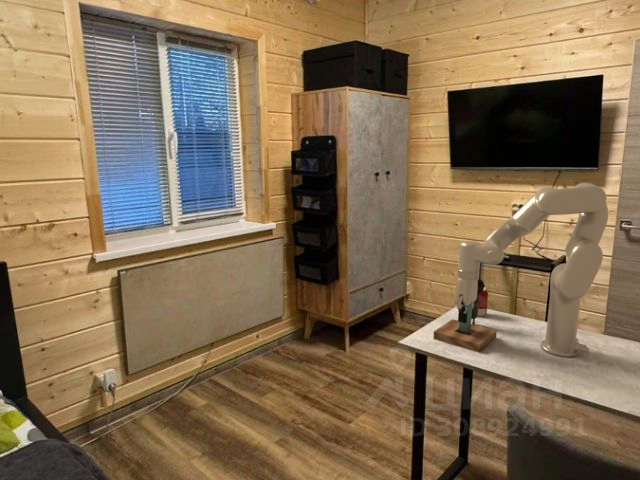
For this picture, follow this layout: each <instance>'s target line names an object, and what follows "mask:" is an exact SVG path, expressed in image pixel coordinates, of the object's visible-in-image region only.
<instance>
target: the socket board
mask: <svg viewBox="0 0 640 480" xmlns="http://www.w3.org/2000/svg"><path fill="white" fill-rule="evenodd" d="M458 328H459V321H458V319H454V318H453V319H450V320H449V321H447V322H446V323H444V324H442V325H441V326H440V327H438V328H437V329H435V330H433V340H436V341H440V342H443V343H446V344H450V345H454V346H457V347H460V348H463V349H466V350H470V351H473V352H477V353H480V352H482V350H484V349H485V348H486V347H487V346H489V345H490V344H491V343H492V342H494V341H495V340H496V339H497V334H498V333H497V332H498V331H497V330H495V329H491V328H488V327H484V326H480V325H476V324H475V325H473V324H472V323H471V330H470V331H469V332H463V331H460V330H459V329H458Z"/></svg>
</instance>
